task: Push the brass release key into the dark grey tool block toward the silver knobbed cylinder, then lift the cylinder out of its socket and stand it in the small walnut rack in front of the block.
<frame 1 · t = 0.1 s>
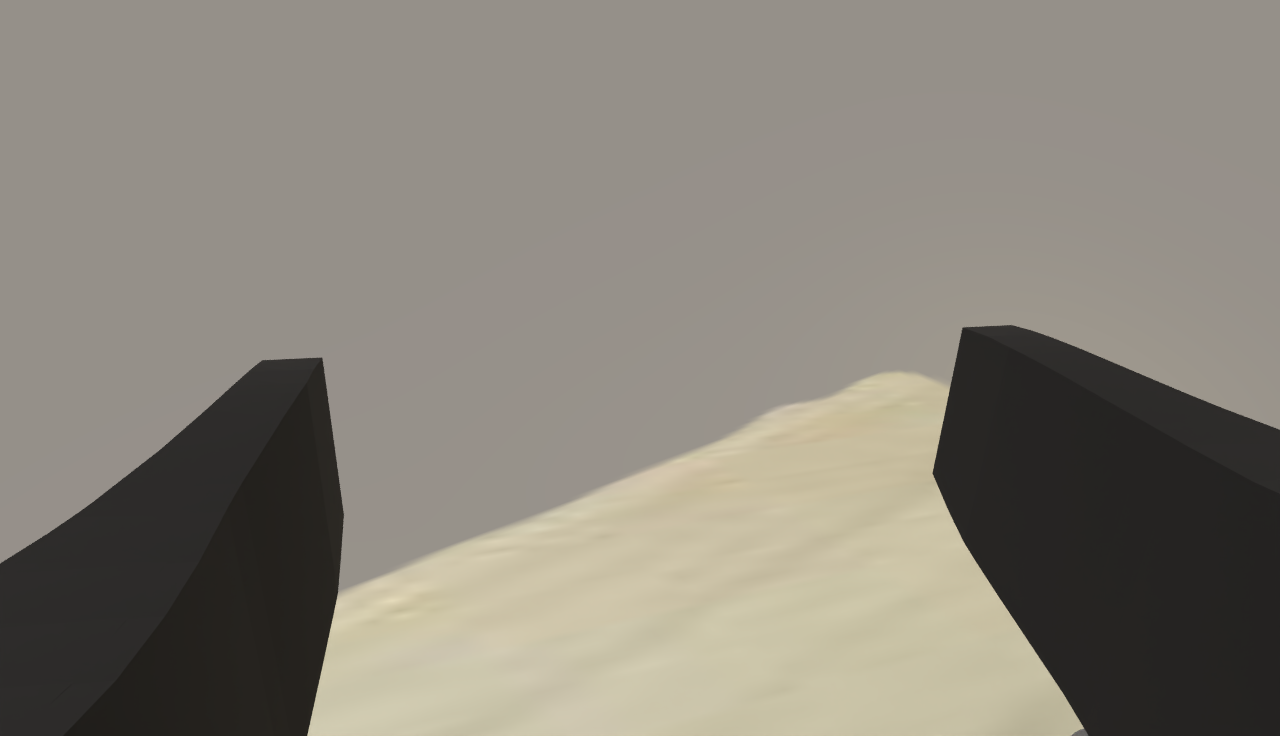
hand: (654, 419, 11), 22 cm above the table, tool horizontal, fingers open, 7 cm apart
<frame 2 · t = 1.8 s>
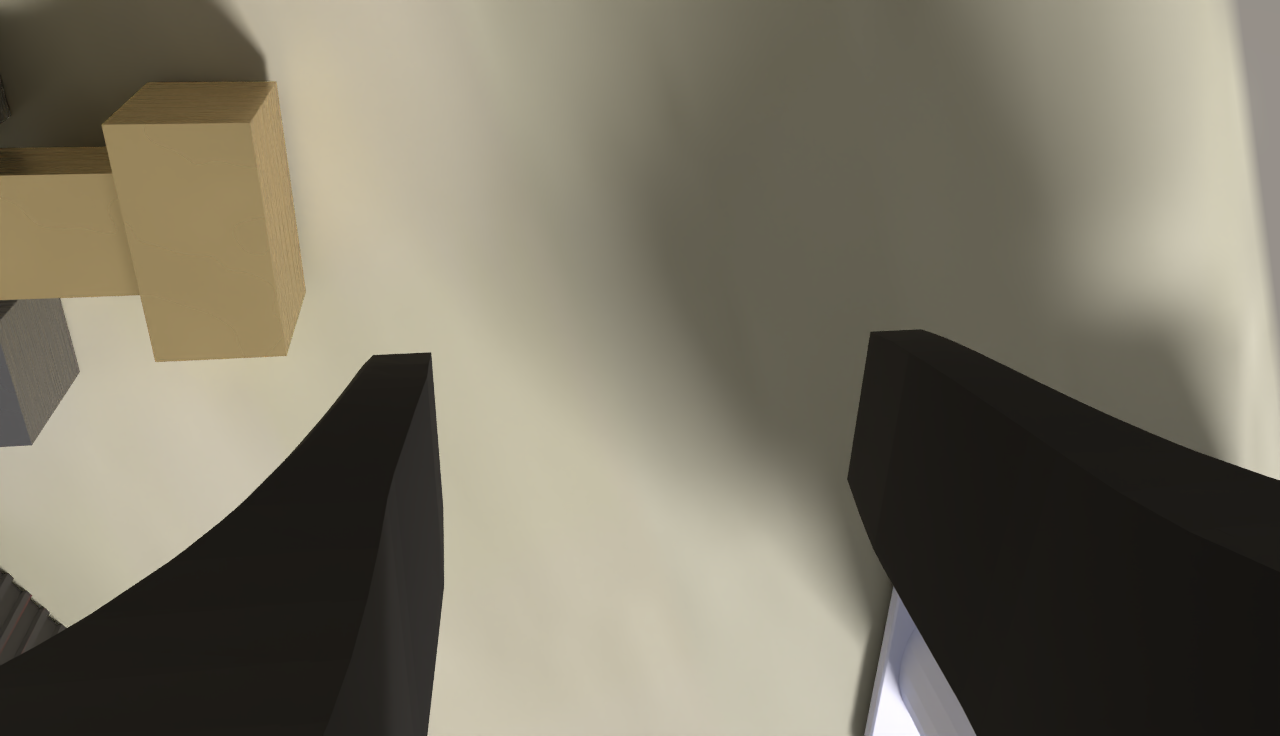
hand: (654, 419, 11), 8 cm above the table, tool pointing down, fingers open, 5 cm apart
release key: (141, 221, 16), point 2 cm above the table, slide at 0.0 cm
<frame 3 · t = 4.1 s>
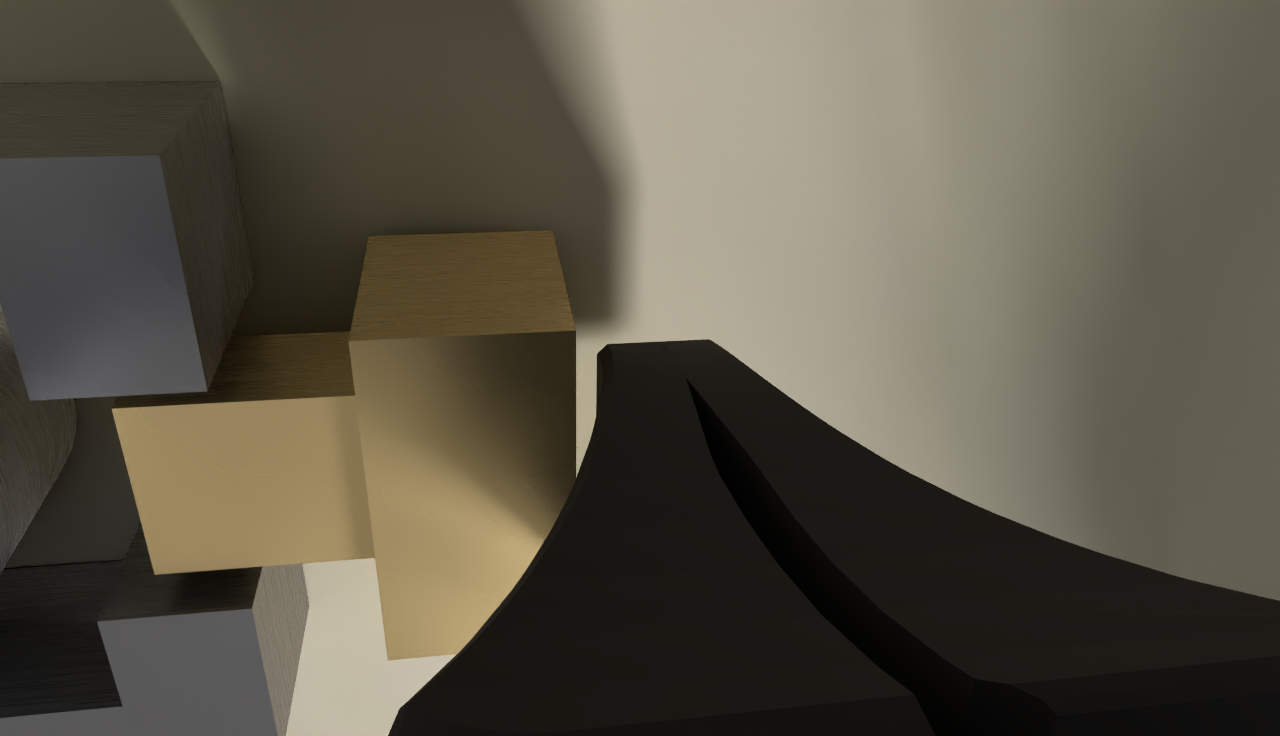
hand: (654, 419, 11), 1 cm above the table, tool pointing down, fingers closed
release key: (363, 445, 11), point 2 cm above the table, slide at 1.0 cm, touching gripper
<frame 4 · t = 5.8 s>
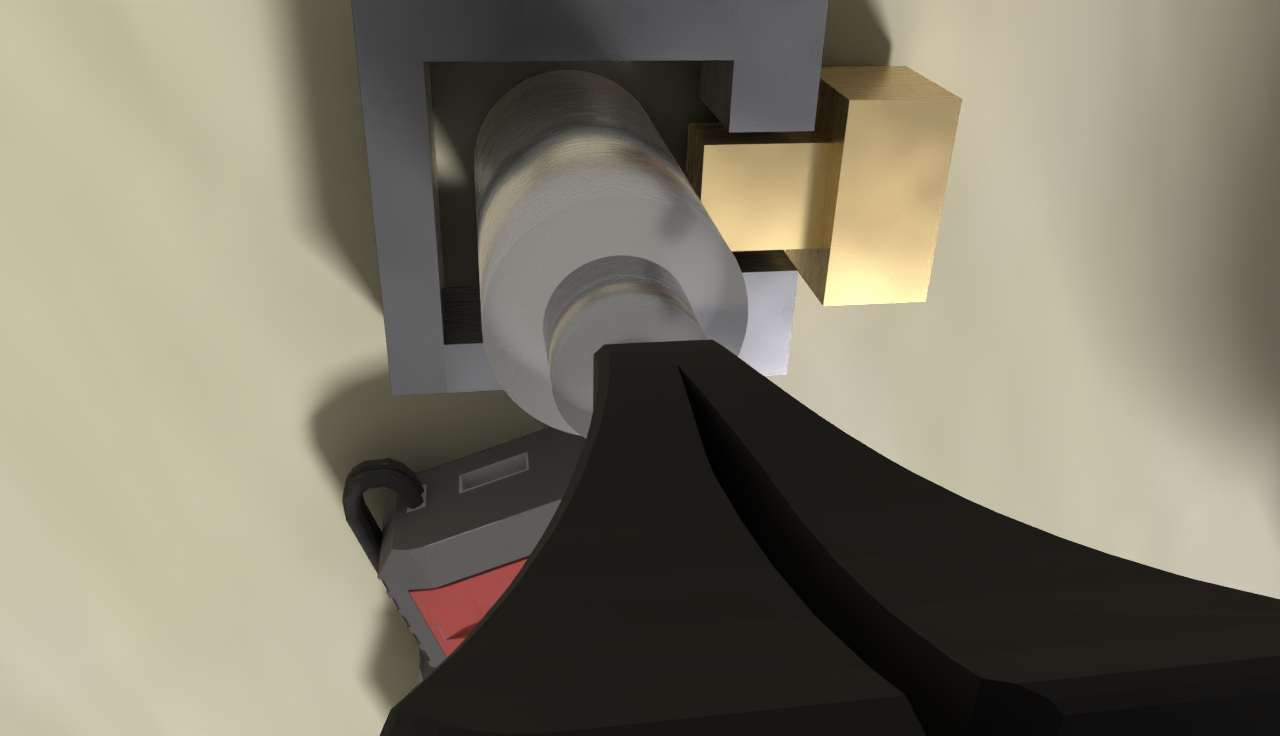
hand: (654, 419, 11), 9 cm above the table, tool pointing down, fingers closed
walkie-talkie: (588, 695, 27), on the table
silver knobbed cylinder: (568, 164, 20), resting in tool block
release key: (806, 185, 19), point 2 cm above the table, slide at 1.8 cm
tool block: (568, 164, 20), on the table
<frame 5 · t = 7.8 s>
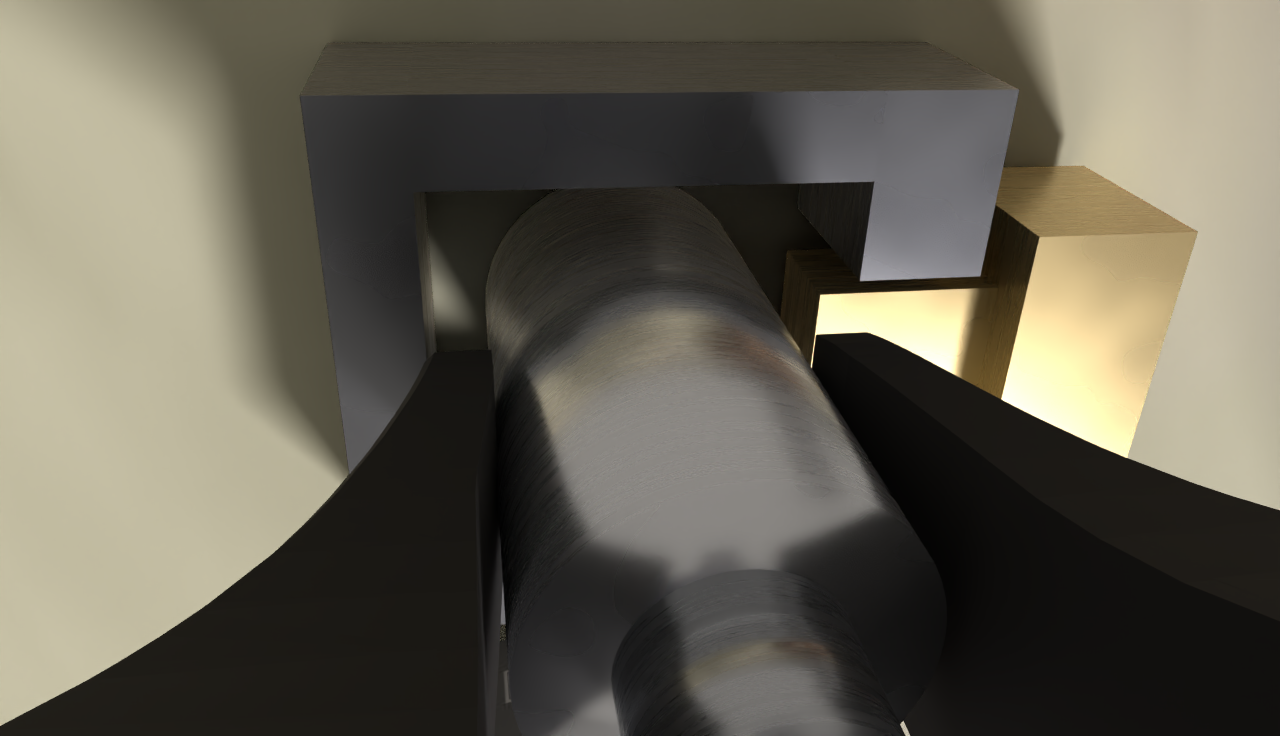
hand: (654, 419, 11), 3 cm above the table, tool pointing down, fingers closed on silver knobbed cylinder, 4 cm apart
silver knobbed cylinder: (614, 299, 14), resting in tool block, touching gripper
release key: (951, 336, 14), point 2 cm above the table, slide at 1.8 cm
tool block: (615, 300, 14), on the table
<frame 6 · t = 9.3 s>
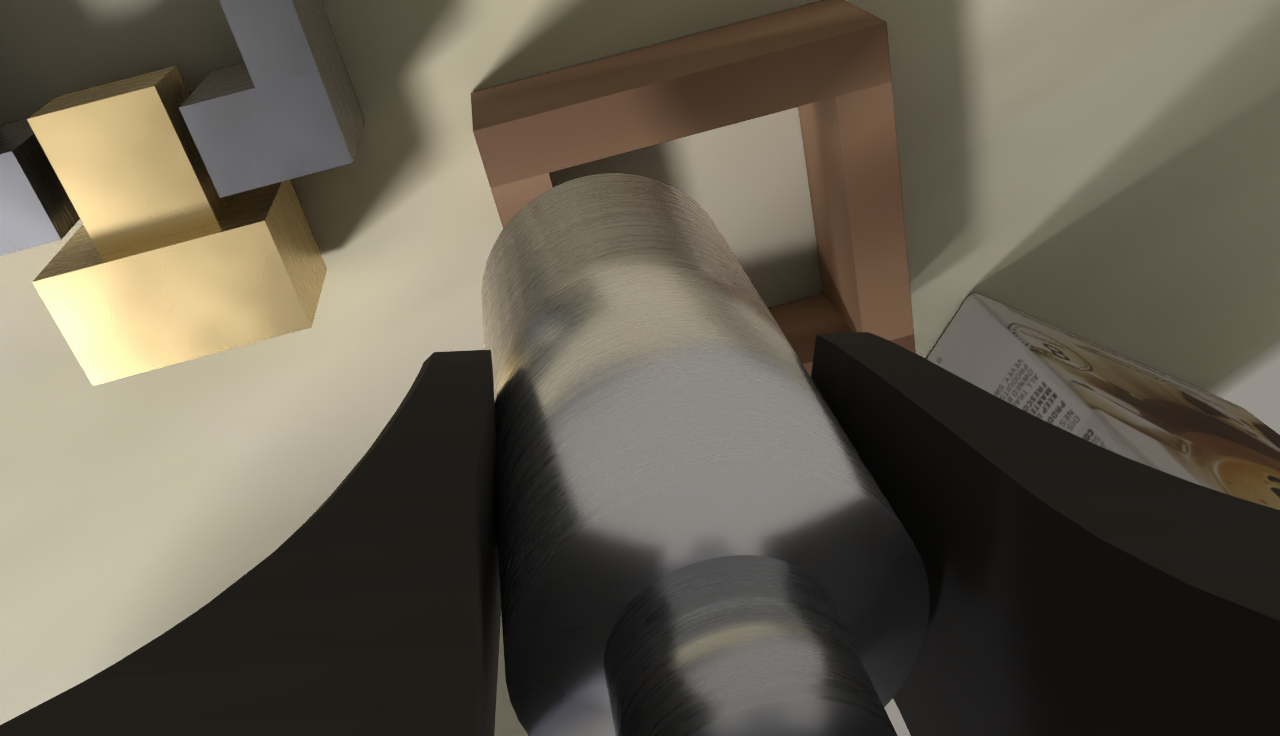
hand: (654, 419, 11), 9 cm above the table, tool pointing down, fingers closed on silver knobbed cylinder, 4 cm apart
coffee box: (1037, 446, 25), on the table
rack: (690, 217, 20), on the table
silver knobbed cylinder: (609, 295, 14), point 6 cm above the table, touching gripper
release key: (163, 215, 17), point 2 cm above the table, slide at 1.8 cm
when the fingers open (5 cm above the table, at t = 10.8 s): silver knobbed cylinder drops 1 cm, resting in rack.
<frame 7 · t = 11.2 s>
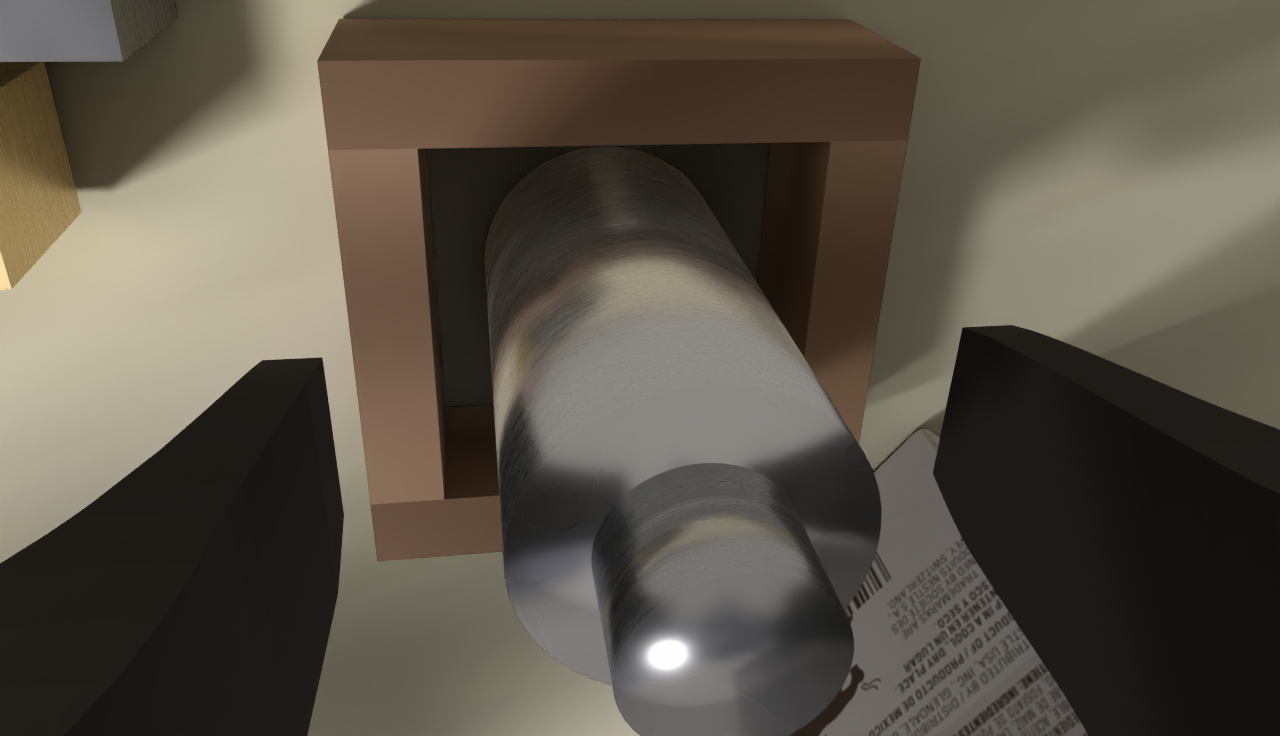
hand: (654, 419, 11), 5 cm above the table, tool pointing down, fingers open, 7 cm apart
coffee box: (949, 620, 21), on the table
rack: (601, 257, 16), on the table
silver knobbed cylinder: (603, 261, 16), resting in rack
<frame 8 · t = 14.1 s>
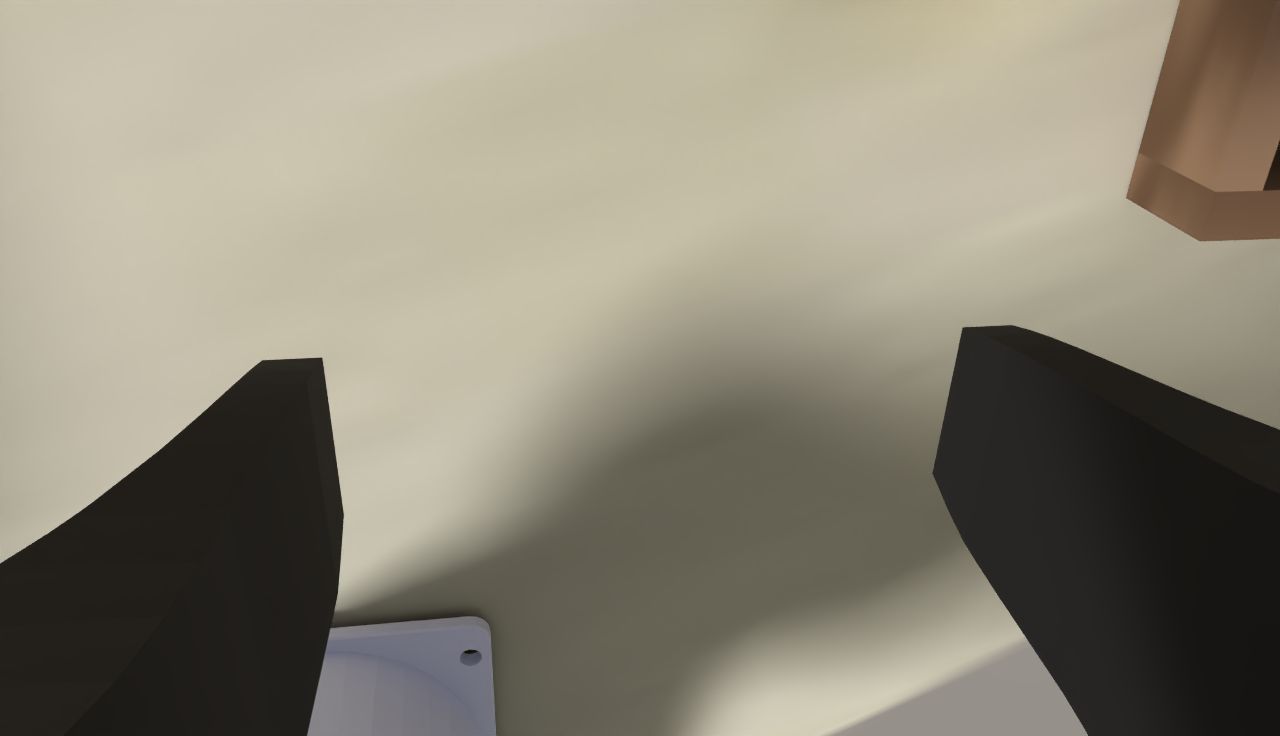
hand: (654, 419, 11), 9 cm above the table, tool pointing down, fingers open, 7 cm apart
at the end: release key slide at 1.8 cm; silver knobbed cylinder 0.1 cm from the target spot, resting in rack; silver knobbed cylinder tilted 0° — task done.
